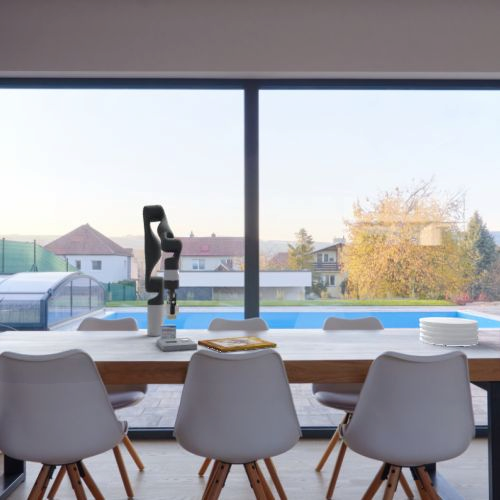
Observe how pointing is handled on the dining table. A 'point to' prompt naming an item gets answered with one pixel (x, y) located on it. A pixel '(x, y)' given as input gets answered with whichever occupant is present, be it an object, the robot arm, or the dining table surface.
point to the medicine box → (167, 331)
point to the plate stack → (449, 331)
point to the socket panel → (176, 344)
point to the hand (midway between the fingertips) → (171, 313)
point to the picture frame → (236, 343)
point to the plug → (167, 311)
